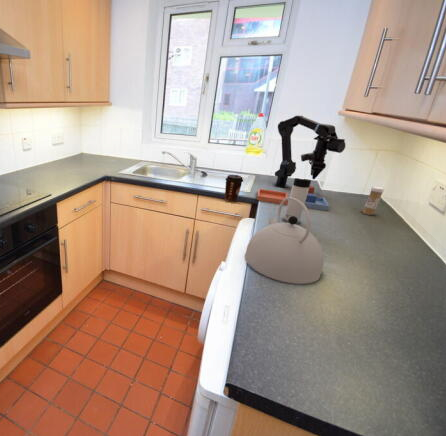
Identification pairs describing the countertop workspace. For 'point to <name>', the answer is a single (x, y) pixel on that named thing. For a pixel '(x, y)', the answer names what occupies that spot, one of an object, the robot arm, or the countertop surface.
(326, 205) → the blue tray
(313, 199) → the slate-blue block
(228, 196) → the coffee cup
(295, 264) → the kettle
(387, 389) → the countertop surface
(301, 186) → the travel mug
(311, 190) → the terracotta block
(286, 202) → the terracotta tray
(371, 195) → the sprinkles bottle
